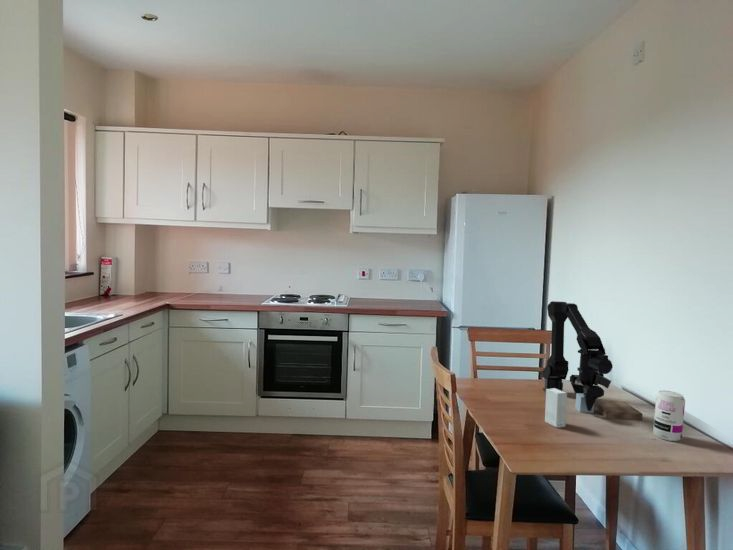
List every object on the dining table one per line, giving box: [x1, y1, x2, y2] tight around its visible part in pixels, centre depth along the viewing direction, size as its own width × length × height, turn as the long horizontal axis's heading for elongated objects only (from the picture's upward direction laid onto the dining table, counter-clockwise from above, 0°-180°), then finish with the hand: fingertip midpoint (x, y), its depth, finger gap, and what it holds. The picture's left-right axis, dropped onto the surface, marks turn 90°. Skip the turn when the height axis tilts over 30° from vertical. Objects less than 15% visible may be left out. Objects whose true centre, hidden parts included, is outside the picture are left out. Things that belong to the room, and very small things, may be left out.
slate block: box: [574, 393, 595, 414], centre depth 183 cm, size 5×5×6 cm
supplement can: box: [652, 390, 686, 442], centre depth 159 cm, size 8×8×15 cm
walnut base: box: [594, 399, 643, 421], centre depth 182 cm, size 13×13×2 cm
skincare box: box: [544, 388, 568, 428], centre depth 166 cm, size 6×4×12 cm
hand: (584, 406), depth 183 cm, fingers open, 9 cm apart
